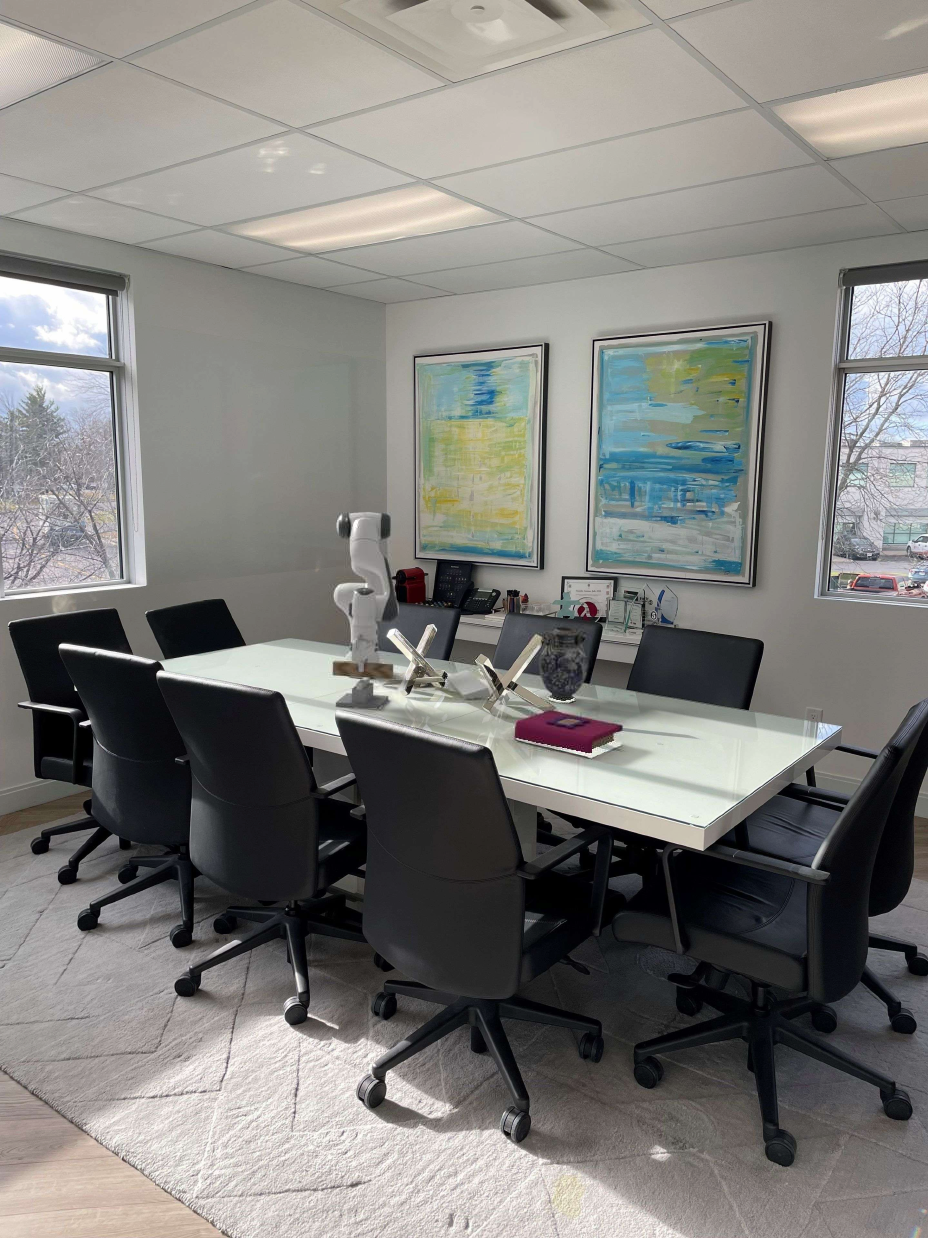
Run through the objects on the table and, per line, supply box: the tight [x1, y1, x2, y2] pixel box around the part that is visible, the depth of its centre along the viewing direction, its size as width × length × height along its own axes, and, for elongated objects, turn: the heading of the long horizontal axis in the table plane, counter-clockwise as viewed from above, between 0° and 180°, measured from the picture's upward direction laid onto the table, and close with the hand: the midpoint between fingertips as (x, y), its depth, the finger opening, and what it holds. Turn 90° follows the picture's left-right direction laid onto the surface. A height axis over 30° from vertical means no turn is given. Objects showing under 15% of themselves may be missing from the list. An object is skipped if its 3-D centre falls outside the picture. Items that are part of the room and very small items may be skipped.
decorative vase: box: [538, 626, 589, 701], centre depth 343 cm, size 21×19×28 cm
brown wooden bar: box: [332, 660, 394, 680], centre depth 328 cm, size 22×3×5 cm, turn 82°
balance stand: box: [335, 677, 390, 710], centre depth 329 cm, size 15×16×8 cm
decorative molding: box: [446, 669, 491, 700], centre depth 359 cm, size 34×5×10 cm
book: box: [514, 709, 624, 753], centre depth 286 cm, size 21×28×8 cm
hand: (363, 670), depth 328 cm, fingers closed on brown wooden bar, 3 cm apart
